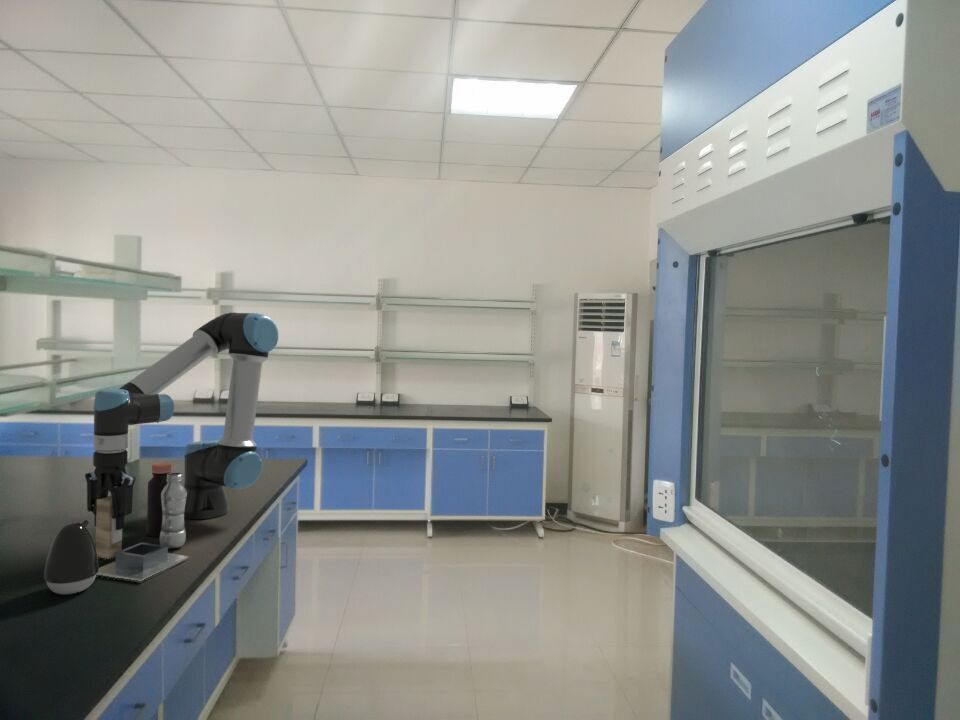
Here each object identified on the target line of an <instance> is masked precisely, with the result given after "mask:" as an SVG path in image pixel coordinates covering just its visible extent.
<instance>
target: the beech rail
mask: <svg viewBox="0 0 960 720" xmlns="http://www.w3.org/2000/svg"><path fill="white" fill-rule="evenodd" d="M113 516H114V510H113V503H112V497H111V495H108V496H107V497H104V498H101V499H97V514H96V527H95V548H96V552H97V557H101V558H107V559H109V558H111V557H114V556H116V553H117V552H119V551H121V550H122V546H123V545H122V542H123V539H122V540H121V541H119V542H116V543H111V521H112V517H113ZM114 558H115V557H114Z"/></svg>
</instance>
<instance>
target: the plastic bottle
mask: <svg viewBox="0 0 960 720" xmlns="http://www.w3.org/2000/svg"><path fill="white" fill-rule="evenodd" d="M182 481H183V474H182V473H181V472H171V473H169V474H167V482H168V483H167V485H166V486H165V487H164V489H163V490H162V493H161V502H162V513H163V520H162V528H161V533H160V536H159V545H162V546H168V550H169V549H170V550H171V549H178V548H180V547H182V546H183V545H184V544H185V543H186V540H187V532H186V527H185V518H184V511H185V503H186V498H187V490H186V488H185V487H184V483H182Z"/></svg>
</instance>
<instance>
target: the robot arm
mask: <svg viewBox="0 0 960 720" xmlns="http://www.w3.org/2000/svg"><path fill="white" fill-rule="evenodd" d="M278 342H279V329H278V327H277V325H276V323H275V322H274V320H273V319H272V318H271V317H269V316H268V315H266V314H262V313H258V312H256V313H255V312H252V313H251V312H228V313H227V312H226V313H224V314H220V315H218V316H216V317H215V318H213V319H211V320H209V321H208V322H206V323H205V324H203V325H202V326H200V327H199V328H197V329H195V330H194V331H193V332H192V336H191V337H190V338H189V339H187V340H186V341H185V342H183V343H182V344H181V345H179V346H178V347H176V348H175V349H173V350H172V351H170V352H169V353H168V354H166V355H165V356H163V357H162V358H161V359H160V360H158V361H156V362H155V363H154V364H152V365H151V366H148V368H146V369H145V370H144V371H142V372H141V373H139V374H137V376H135V377H133V378H132V379H131V380H129V381H127V383H125V384H124V385H122V386H120V387H119V388H112V389H111V388H107V389H106V388H105V389H100V390H98V391H97V392H95V395H94V402H93V450H94V452H93V455H92V457H93V458H92V465H93V466H94V467H95V469H94V471H91V472H88V473H85V475H84V477H85V480H86V505H87V506H86V507H87V512H91V513H93V515H94V518H93V519H94V520H93V522H94V527H95V528H96V514H97V499H101V498H104V497H107V496H109V493H110V496H111V497H112V503H113V510H114V516H113V517H112V521H111V543H116V542H119V541H121V540H122V541H123V530H124V527H125V516H128V515H131V514H132V512H133V495H134V484H135V482H136V476H134V475H133V476H130V475H128V474H127V471H126V466H127V464H128V458H129V457H128V450H127V449H128V448H129V447H128V445H129V441H128V439H129V437H128V436H129V426H134V425H142V424H152V423H157V424H159V423H163V422H166V421H167V422H168V421H169V420H171V418H172V417H173V415H174V413H175V403H174V400H173V399H172V397H171V396H170V395H168V394H164V393H161V392H162V391H164V390H165V389H166V388H168V387H169V386H171V385H172V384H174V383H175V382H176V381H177V380H178V379H180V378H181V377H184V375H185V374H187V373H188V372H189V371H191V370H192V369H194V367H196V366H197V365H199V364H200V363H202V362H203V361H204V360H205V359H207V358H208V357H215V356H217V355H218V354H219V353H221V352H223V351H226V350H228V355H229V357H231V359H232V365H231V366H232V367H231V374H230V381H229V389H228V396H227V406H226V413H225V421H224V426H223V427H224V428H223V436H222V438H220V439H207V440H200V441H193V442H190V443H188V444H186V445H185V449H184V472H183V473H184V475H183V477H184V480H183V481H184V483H183V486H184V487H185V488H186V490H187V498H186V503H185V511H184V519H189V520H205V519H212V518H218V517H221V516H222V517H223V516H225V515H226V514H228V513H229V511H230V503H229V501H228V498H227V493H226V490H225V487H226V488H228V489H237V490H243V489H247V488H249V487H251V486H253V484H254V483H255V482H257V480H258V479H259V477H260V476H261V473H262V471H263V459H262V458H261V456H260V455H259V454H258V453H257V447H258V444H257V443H256V442H255V440H254V430H255V423H256V415H257V414H256V413H257V406H258V398H259V391H260V382H261V377H262V376H261V375H262V374H261V373H262V366H263V363H265V361H267V360H268V359H269V352H271V351H273V350H274V348H276V346H277V344H278Z"/></svg>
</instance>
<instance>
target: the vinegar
mask: <svg viewBox="0 0 960 720" xmlns="http://www.w3.org/2000/svg"><path fill="white" fill-rule="evenodd" d="M151 473H152V477H151V479H150V480H149V481H148V482H147V503H146V507H147V508H146V513H147V514H146V535H147V536H149V535H150V536H149V537H153V536H159V537H160V533H161V528H162V520H163V513H162V502H161V493H162V490H163V489H164V487H165V486H166V485H167V483H168V482H167V474H169V473H172V463H170V462H155V463H153V464H151Z"/></svg>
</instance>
